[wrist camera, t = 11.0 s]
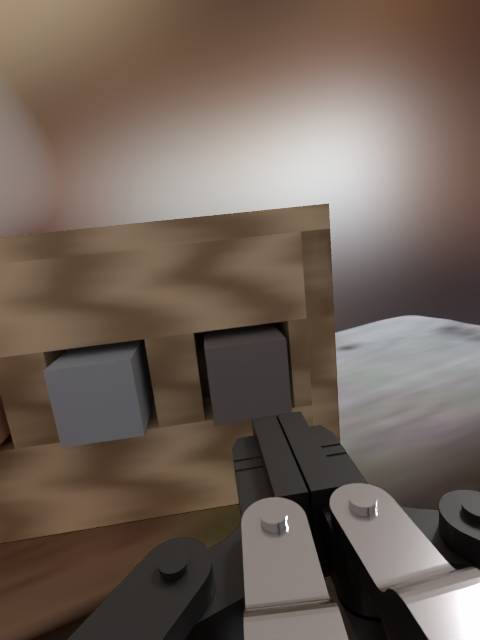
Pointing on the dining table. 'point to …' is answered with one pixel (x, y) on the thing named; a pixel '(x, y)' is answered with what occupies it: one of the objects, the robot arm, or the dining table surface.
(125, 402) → the key slate
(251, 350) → the key charcoal
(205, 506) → the console
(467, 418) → the dining table surface
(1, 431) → the key terracotta
